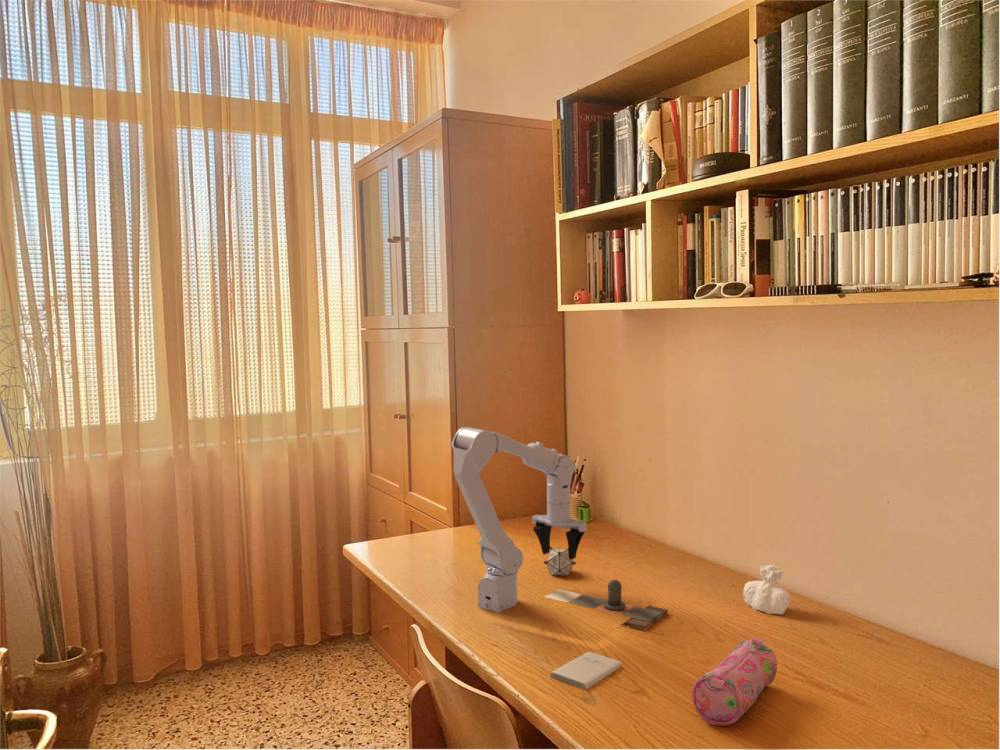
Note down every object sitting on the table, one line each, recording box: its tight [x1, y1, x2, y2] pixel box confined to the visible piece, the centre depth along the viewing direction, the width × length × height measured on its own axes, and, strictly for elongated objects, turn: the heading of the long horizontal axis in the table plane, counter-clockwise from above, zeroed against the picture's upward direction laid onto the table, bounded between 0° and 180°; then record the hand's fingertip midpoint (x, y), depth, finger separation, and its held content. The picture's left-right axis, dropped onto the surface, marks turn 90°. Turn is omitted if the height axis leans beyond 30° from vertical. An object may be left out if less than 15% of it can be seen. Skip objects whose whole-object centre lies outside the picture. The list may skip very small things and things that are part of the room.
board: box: [544, 588, 669, 631], centre depth 186 cm, size 12×28×1 cm, turn 54°
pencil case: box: [691, 637, 778, 727], centre depth 141 cm, size 21×9×9 cm, turn 143°
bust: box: [743, 564, 792, 615], centre depth 185 cm, size 12×8×11 cm
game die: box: [543, 546, 577, 577], centre depth 209 cm, size 9×8×10 cm
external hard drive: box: [550, 651, 623, 690], centre depth 154 cm, size 2×8×12 cm
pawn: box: [603, 579, 626, 611], centre depth 184 cm, size 5×5×6 cm
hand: (559, 555), depth 197 cm, fingers open, 7 cm apart
